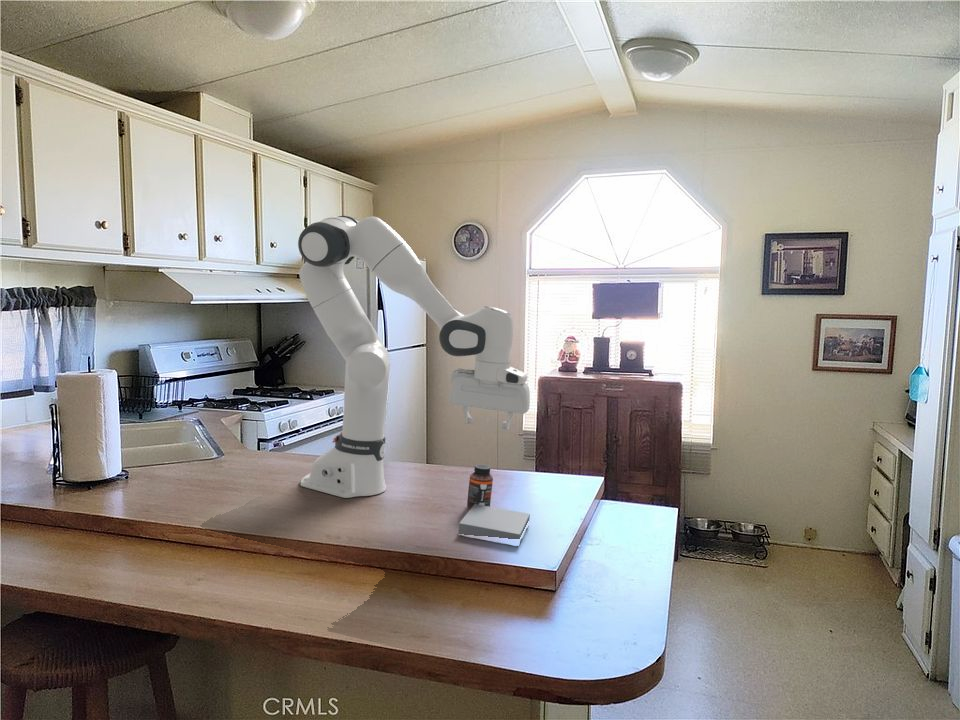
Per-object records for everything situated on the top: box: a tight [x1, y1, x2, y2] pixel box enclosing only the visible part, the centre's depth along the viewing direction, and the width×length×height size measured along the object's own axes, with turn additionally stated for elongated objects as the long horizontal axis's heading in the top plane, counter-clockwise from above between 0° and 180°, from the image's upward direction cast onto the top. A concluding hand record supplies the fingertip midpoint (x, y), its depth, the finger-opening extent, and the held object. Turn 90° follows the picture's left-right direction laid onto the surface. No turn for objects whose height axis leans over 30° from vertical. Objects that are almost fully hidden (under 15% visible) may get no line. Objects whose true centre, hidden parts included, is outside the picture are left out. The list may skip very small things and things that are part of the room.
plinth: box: [457, 504, 531, 539], centre depth 151 cm, size 14×14×3 cm
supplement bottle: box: [466, 464, 494, 511], centre depth 163 cm, size 6×6×11 cm
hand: (487, 426), depth 161 cm, fingers open, 8 cm apart
